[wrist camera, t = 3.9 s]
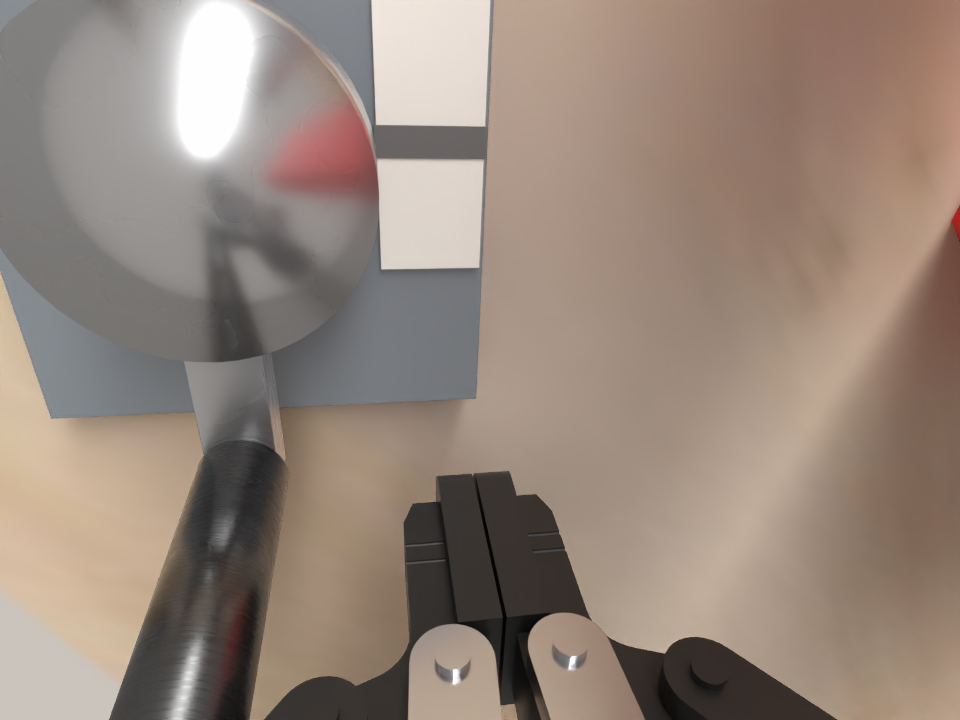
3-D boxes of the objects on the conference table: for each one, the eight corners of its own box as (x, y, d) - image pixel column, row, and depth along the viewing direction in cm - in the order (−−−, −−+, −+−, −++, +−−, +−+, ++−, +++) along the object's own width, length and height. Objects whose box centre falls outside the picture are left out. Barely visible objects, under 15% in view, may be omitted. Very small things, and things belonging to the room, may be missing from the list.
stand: (491, -248, 13) (533, -324, 10) (469, 371, 20) (488, 446, 16) (-147, -311, 11) (-353, -429, 8) (74, 387, 18) (10, 473, 15)
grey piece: (362, -265, 9) (342, -941, 3) (388, 456, 16) (403, 819, 9) (-107, -314, 8) (-2109, -1556, 2) (123, 472, 15) (-87, 888, 8)
